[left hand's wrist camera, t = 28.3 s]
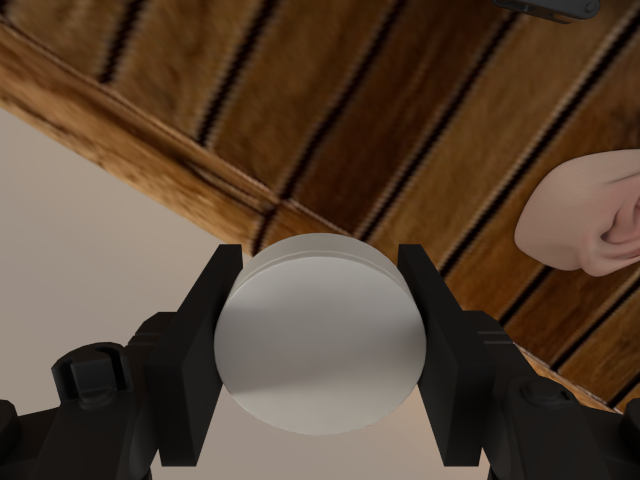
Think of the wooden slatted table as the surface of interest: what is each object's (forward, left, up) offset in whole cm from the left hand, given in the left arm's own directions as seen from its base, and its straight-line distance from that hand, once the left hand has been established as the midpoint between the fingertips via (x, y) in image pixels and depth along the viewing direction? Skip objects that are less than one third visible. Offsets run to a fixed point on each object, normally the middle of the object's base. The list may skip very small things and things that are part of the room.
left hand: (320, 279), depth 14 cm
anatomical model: (-8, +24, -22) cm, 33 cm away
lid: (0, 0, +4) cm, 4 cm away
